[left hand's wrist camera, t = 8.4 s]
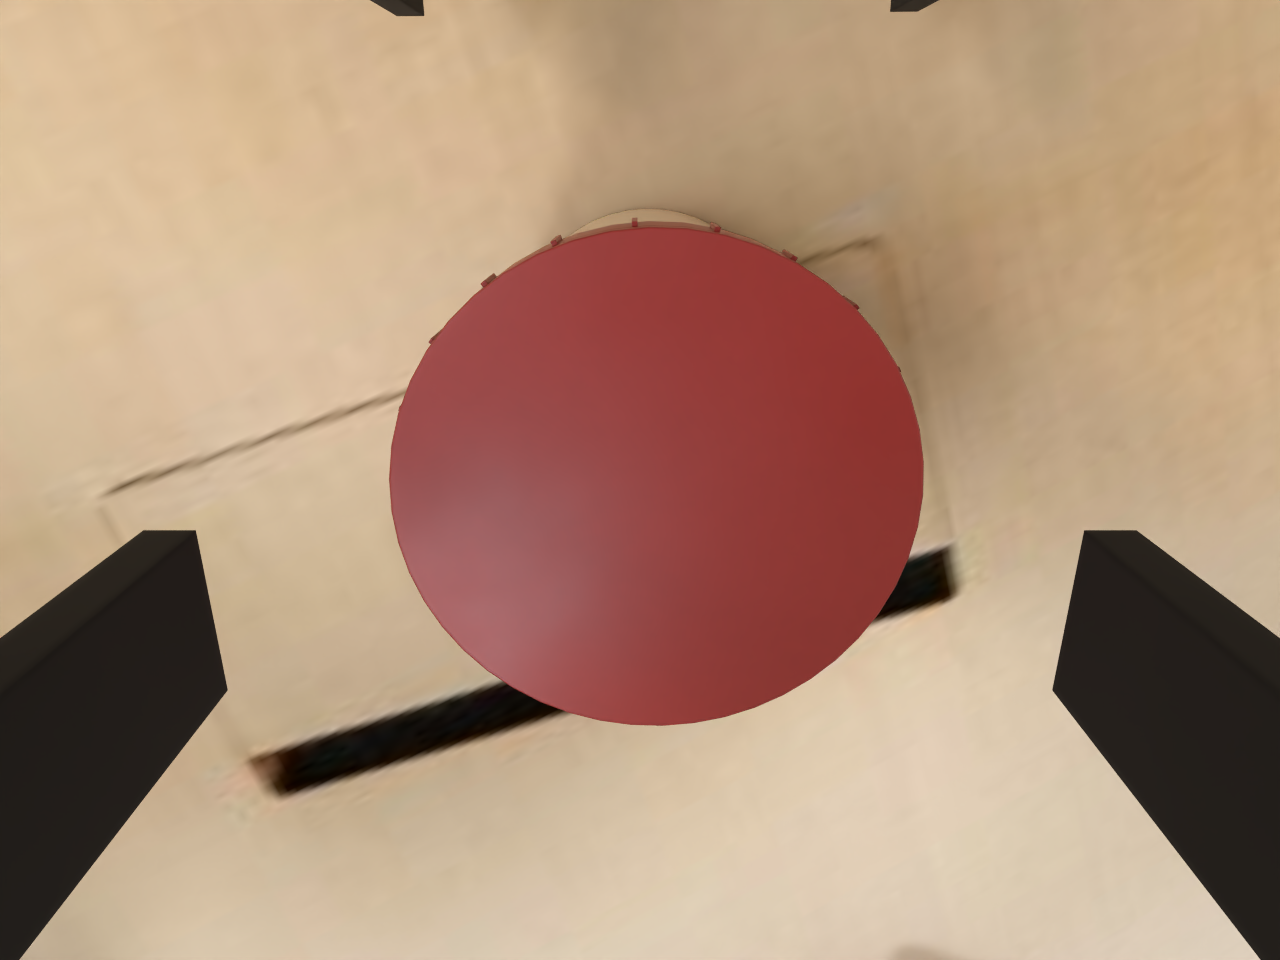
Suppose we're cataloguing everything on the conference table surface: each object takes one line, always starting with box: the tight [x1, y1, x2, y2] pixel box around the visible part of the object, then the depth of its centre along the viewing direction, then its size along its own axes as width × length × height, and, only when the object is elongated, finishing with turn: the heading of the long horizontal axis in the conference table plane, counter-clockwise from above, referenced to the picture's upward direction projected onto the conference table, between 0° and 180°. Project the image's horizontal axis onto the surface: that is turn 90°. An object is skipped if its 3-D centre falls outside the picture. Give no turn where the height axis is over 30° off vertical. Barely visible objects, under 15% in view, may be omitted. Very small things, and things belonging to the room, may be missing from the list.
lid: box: [389, 217, 924, 726], centre depth 18 cm, size 11×11×2 cm
